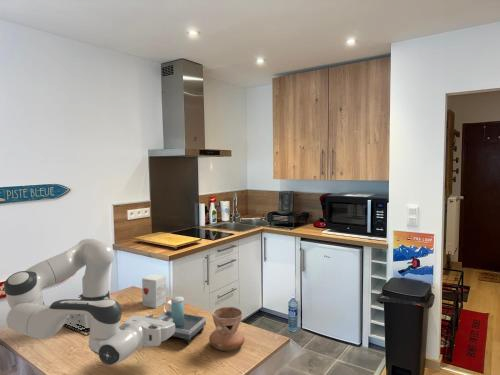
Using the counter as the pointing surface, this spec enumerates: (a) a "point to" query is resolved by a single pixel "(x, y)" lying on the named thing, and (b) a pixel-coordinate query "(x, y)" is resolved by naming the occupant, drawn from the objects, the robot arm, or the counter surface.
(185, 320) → the shallow tray
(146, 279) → the supplement box
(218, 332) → the ceramic jug
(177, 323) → the tin
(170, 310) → the cup
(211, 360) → the counter surface
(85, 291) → the robot arm
